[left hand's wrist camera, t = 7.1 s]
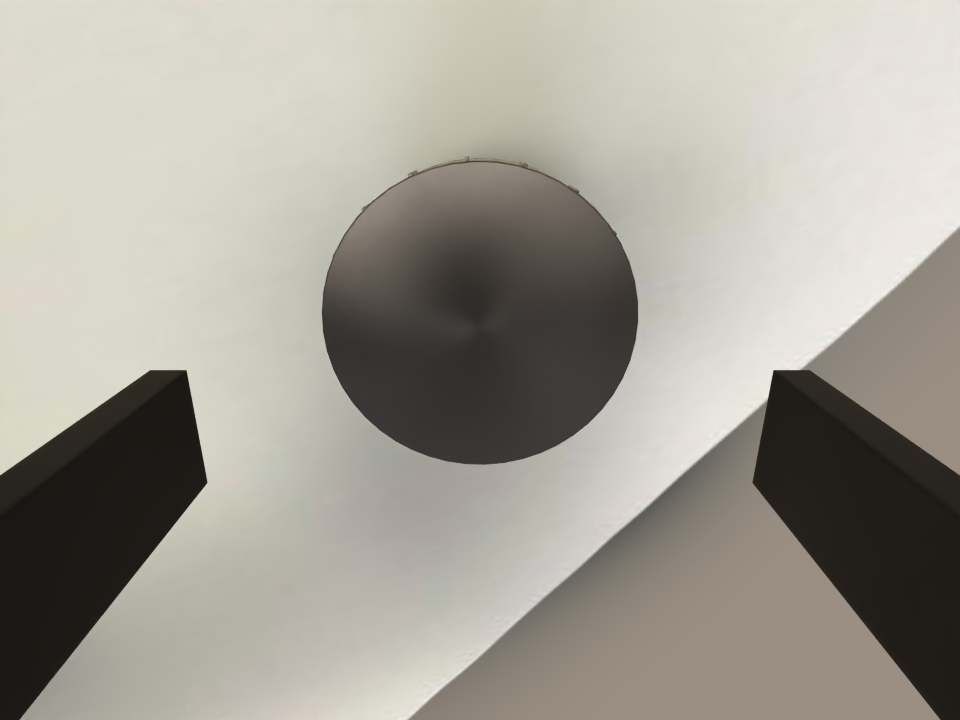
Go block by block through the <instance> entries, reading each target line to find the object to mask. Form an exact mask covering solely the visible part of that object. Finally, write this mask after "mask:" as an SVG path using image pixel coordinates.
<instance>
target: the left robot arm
mask: <svg viewBox="0 0 960 720" xmlns="http://www.w3.org/2000/svg"><path fill="white" fill-rule="evenodd" d="M206 484H207V477H206V472H205V467H204V461H203V456H202V451H201V445H200V440H199V435H198V429H197V424H196V419H195V413H194V408H193V403H192V397H191V392H190V387H189V381H188V376H187V371H186V370H150V371H149V372H147V373H146V374H144V375H143V376H141V377H140V378H139V379H137V380H136V381H134V382H133V383H131V384H130V385H129V386H127V387H126V388H124V389H123V390H122V391H120V392H119V393H117V394H116V395H114V396H113V397H112V398H110V399H109V400H107V401H106V402H104V403H103V404H102V405H100V406H99V407H97V408H96V409H94V410H93V411H92V412H90V413H89V414H87V415H86V416H84V417H83V418H82V419H80V420H79V421H77V422H76V423H74V424H73V425H72V426H70V427H69V428H67V429H66V430H64V431H63V432H62V433H60V434H59V435H57V436H56V437H54V438H53V439H52V440H50V441H49V442H47V443H46V444H44V445H43V446H42V447H40V448H39V449H37V450H36V451H34V452H33V453H32V454H30V455H29V456H27V457H26V458H24V459H23V460H22V461H20V462H19V463H17V464H16V465H14V466H13V467H12V468H10V469H9V470H7V471H6V472H4V473H3V474H2V475H0V720H20V718H21V717H22V716H23V715H24V713H25V712H26V711H27V710H28V708H29V707H30V706H31V704H32V703H33V702H34V701H35V699H36V698H37V697H38V696H39V694H40V693H41V692H42V691H43V689H44V688H45V687H46V686H47V684H48V683H49V682H50V681H51V679H52V678H53V677H54V675H55V674H56V673H57V672H58V670H59V669H60V668H61V667H62V665H63V664H64V663H65V662H66V660H67V659H68V658H69V657H70V655H71V654H72V653H73V652H74V650H75V649H76V648H77V647H78V645H79V644H80V643H81V641H82V640H83V639H84V638H85V636H86V635H87V634H88V633H89V631H90V630H91V629H92V628H93V626H94V625H95V624H96V623H97V621H98V620H99V619H100V618H101V616H102V615H103V614H104V612H105V611H106V610H107V609H108V607H109V606H110V605H111V604H112V602H113V601H114V600H115V599H116V597H117V596H118V595H119V594H120V592H121V591H122V590H123V589H124V587H125V586H126V585H127V584H128V582H129V581H130V580H131V578H132V577H133V576H134V575H135V573H136V572H137V571H138V570H139V568H140V567H141V566H142V565H143V563H144V562H145V561H146V560H147V558H148V557H149V556H150V555H151V553H152V552H153V551H154V549H155V548H156V547H157V546H158V544H159V543H160V542H161V541H162V539H163V538H164V537H165V536H166V534H167V533H168V532H169V531H170V529H171V528H172V527H173V526H174V524H175V523H176V522H177V520H178V519H179V518H180V517H181V515H182V514H183V513H184V512H185V510H186V509H187V508H188V507H189V505H190V504H191V503H192V502H193V500H194V499H195V498H196V497H197V495H198V494H199V493H200V492H201V490H202V489H203V488H204V486H205V485H206ZM753 484H754V485H755V486H756V488H757V489H758V490H759V491H760V493H761V494H762V495H763V496H764V498H765V499H766V500H767V502H768V503H769V504H770V505H771V507H772V508H773V509H774V510H775V512H776V513H777V514H778V515H779V517H780V518H781V519H782V520H783V522H784V523H785V524H786V525H787V527H788V528H789V529H790V531H791V532H792V533H793V534H794V536H795V537H796V538H797V539H798V541H799V542H800V543H801V544H802V546H803V547H804V548H805V549H806V551H807V552H808V553H809V555H810V556H811V557H812V558H813V559H814V561H815V562H816V563H817V565H818V566H819V567H820V568H821V570H822V571H823V572H824V573H825V575H826V576H827V577H828V578H829V580H830V581H831V582H832V583H833V585H834V586H835V587H836V589H837V590H838V591H839V592H840V594H841V595H842V596H843V597H844V599H845V600H846V601H847V602H848V604H849V605H850V606H851V607H852V609H853V610H854V611H855V612H856V614H857V615H858V616H859V617H860V619H861V620H862V621H863V623H864V624H865V625H866V626H867V628H868V629H869V630H870V631H871V633H872V634H873V635H874V636H875V638H876V639H877V640H878V641H879V643H880V644H881V645H882V646H883V648H884V649H885V650H886V651H887V653H888V654H889V655H890V657H891V658H892V659H893V660H894V662H895V663H896V664H897V665H898V667H899V668H900V669H901V670H902V672H903V673H904V674H905V675H906V677H907V678H908V679H909V680H910V682H911V683H912V684H913V686H914V687H915V688H916V689H917V691H918V692H919V693H920V694H921V696H922V697H923V698H924V699H925V701H926V702H927V703H928V704H929V706H930V707H931V708H932V710H933V711H934V712H935V713H936V715H937V716H938V717H939V718H940V720H960V475H958V474H957V473H955V472H954V471H953V470H951V469H950V468H948V467H947V466H946V465H944V464H943V463H941V462H940V461H938V460H937V459H936V458H934V457H933V456H931V455H930V454H928V453H927V452H926V451H924V450H923V449H921V448H920V447H918V446H917V445H916V444H914V443H913V442H911V441H910V440H908V439H907V438H906V437H904V436H903V435H901V434H900V433H898V432H897V431H896V430H894V429H893V428H891V427H890V426H888V425H887V424H886V423H884V422H883V421H881V420H880V419H878V418H877V417H876V416H874V415H873V414H871V413H870V412H868V411H867V410H866V409H864V408H863V407H861V406H860V405H858V404H857V403H856V402H854V401H853V400H851V399H850V398H848V397H847V396H846V395H844V394H843V393H841V392H840V391H838V390H837V389H836V388H834V387H833V386H831V385H830V384H828V383H827V382H826V381H824V380H823V379H821V378H820V377H818V376H817V375H816V374H814V373H813V372H811V371H810V370H774V371H773V376H772V381H771V387H770V392H769V397H768V403H767V408H766V414H765V419H764V424H763V429H762V435H761V440H760V446H759V451H758V456H757V461H756V467H755V472H754V477H753Z"/></svg>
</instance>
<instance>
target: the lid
mask: <svg viewBox="0 0 960 720" xmlns="http://www.w3.org/2000/svg"><path fill="white" fill-rule="evenodd" d="M408 176H409V177H408V178H406V179H404V180H403V181H401V182H399V183H397V184H396V185H394V186H392V187H390V188H389V189H388V190H386V191H385V192H384V193H382V194H381V195H380V196H379V197H377V198H376V199H375V200H373V201H372V202H371V203H370V204H368V205H366V206H365V207H363V208H362V210H363V211H362V213H361V214H360V215H359V216H358V217H357V218H356V219H355V221H354V222H353V223H352V225H351V226H350V228H349V229H348V230H347V232H346V233H345V234H344V236H343V238H342V240H341V242H340V244H339V246H338V248H337V249H336V251H335V253H334V254H333V259H332V262H331V264H330V267H329V270H328V273H327V278H326V282H325V287H324V292H323V305H322V320H323V333H324V338H325V343H326V348H327V352H328V355H329V358H330V361H331V364H332V367H333V369H334V372H335V374H336V376H337V378H338V380H339V382H340V384H341V386H342V387H343V389H344V390H345V392H346V393H347V395H348V396H349V398H350V399H351V401H352V402H353V404H354V405H355V406H356V407H357V408H358V409H359V410H360V412H361V413H362V414H363V415H364V416H365V417H366V418H367V419H368V420H369V421H370V422H371V423H372V424H374V425H375V426H376V427H377V428H378V429H379V430H380V431H382V432H383V433H385V434H386V435H388V436H389V437H390V438H392V439H393V440H395V441H396V442H398V443H400V444H402V445H404V446H406V447H408V448H410V449H411V450H414V451H416V452H419V453H422V454H424V455H427V456H429V457H433V458H437V459H441V460H444V461H449V462H456V463H463V464H497V463H506V462H510V461H515V460H520V459H524V458H527V457H530V456H533V455H536V454H539V453H542V452H544V451H546V450H548V449H550V448H552V447H555V446H557V445H558V444H560V443H562V442H563V441H565V440H567V439H568V438H570V437H571V436H573V435H574V434H576V433H577V432H578V431H579V430H581V429H582V428H583V427H584V426H586V425H587V424H588V423H589V422H590V421H591V420H592V419H593V418H594V417H595V416H596V415H597V414H598V413H599V412H600V411H601V410H602V409H603V407H604V406H605V405H606V403H607V402H608V401H609V399H610V398H611V397H612V396H613V394H614V392H615V391H616V389H617V387H618V385H619V384H620V382H621V380H622V379H623V376H624V374H625V372H626V369H627V367H628V364H629V362H630V359H631V356H632V352H633V348H634V345H635V341H636V333H637V325H638V299H637V292H636V285H635V280H634V277H633V273H632V270H631V266H630V263H629V260H628V258H627V256H626V254H625V251H624V249H623V247H622V245H621V243H620V241H619V239H618V238H617V236H616V235H617V234H616V232H615V231H613V230H612V228H611V227H610V225H609V224H608V223H607V222H606V220H605V219H604V218H603V217H602V216H601V215H600V213H599V212H598V211H597V210H596V209H595V208H594V207H593V206H592V205H591V204H590V203H589V202H587V201H586V200H585V199H584V198H583V197H582V196H581V195H580V194H578V193H579V191H578V190H577V189H575V188H573V187H571V186H566V185H565V184H563V183H562V182H560V181H558V180H556V179H554V178H553V177H550V176H548V175H546V174H544V173H542V172H540V171H538V170H536V169H534V168H531V167H527V164H526V163H524V162H520V164H518V163H515V162H509V161H503V160H498V159H478V158H474V159H470V158H469V156H466V158H465V159H464V160H455V161H451V162H447V163H443V164H439V165H435V166H432V167H430V168H427V169H425V170H422V171H420V172H417V170H416V171H414V172H412V173H410V174H408Z"/></svg>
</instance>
